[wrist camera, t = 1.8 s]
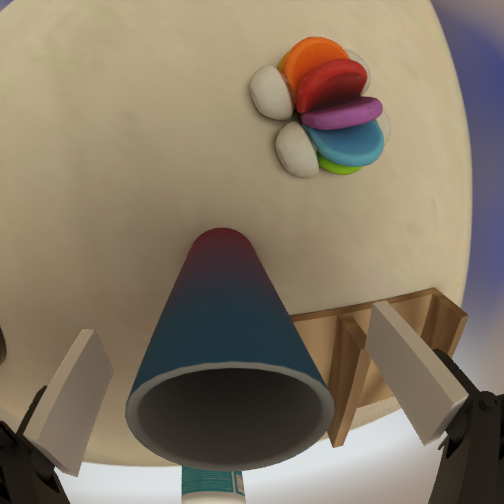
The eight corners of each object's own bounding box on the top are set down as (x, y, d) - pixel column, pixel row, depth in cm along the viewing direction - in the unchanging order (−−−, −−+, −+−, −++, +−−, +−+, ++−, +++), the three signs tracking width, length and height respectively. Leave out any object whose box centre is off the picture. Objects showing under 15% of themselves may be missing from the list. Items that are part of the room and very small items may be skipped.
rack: (229, 425, 29) (232, 465, 23) (207, 325, 23) (205, 374, 18) (402, 386, 31) (421, 415, 25) (434, 287, 25) (468, 315, 20)
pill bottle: (172, 441, 30) (168, 525, 17) (204, 421, 28) (206, 519, 16) (216, 456, 32) (221, 533, 20) (249, 438, 31) (263, 525, 18)
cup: (281, 270, 22) (357, 429, 8) (210, 311, 23) (210, 482, 9) (236, 198, 20) (275, 315, 6) (160, 247, 20) (84, 405, 6)
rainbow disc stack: (336, 45, 16) (382, 12, 10) (380, 154, 20) (439, 161, 13) (236, 73, 17) (244, 35, 10) (288, 190, 20) (322, 212, 13)
